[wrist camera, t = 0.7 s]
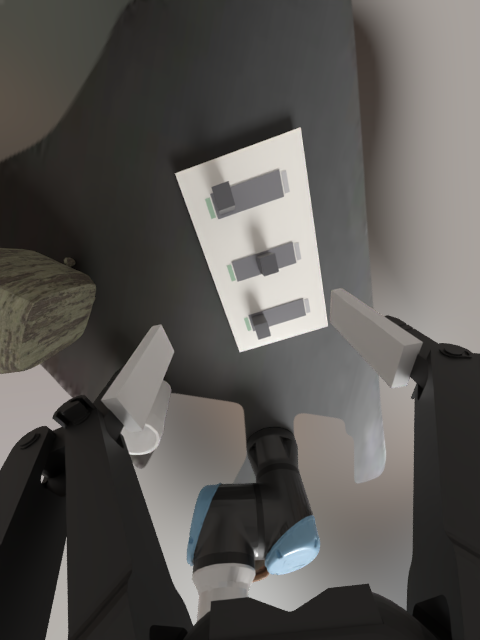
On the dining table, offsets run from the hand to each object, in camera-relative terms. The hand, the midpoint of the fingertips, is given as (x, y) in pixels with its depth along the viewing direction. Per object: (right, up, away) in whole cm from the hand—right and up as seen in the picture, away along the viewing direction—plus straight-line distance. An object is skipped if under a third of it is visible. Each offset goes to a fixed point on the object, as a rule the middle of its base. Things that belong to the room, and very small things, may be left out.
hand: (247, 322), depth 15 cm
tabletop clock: (-32, +6, +23) cm, 40 cm away
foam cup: (-21, -17, +33) cm, 43 cm away
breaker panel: (+4, +12, +22) cm, 26 cm away
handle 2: (+3, 0, +24) cm, 24 cm away
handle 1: (-3, +19, +16) cm, 25 cm away
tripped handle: (+4, +11, +20) cm, 23 cm away
